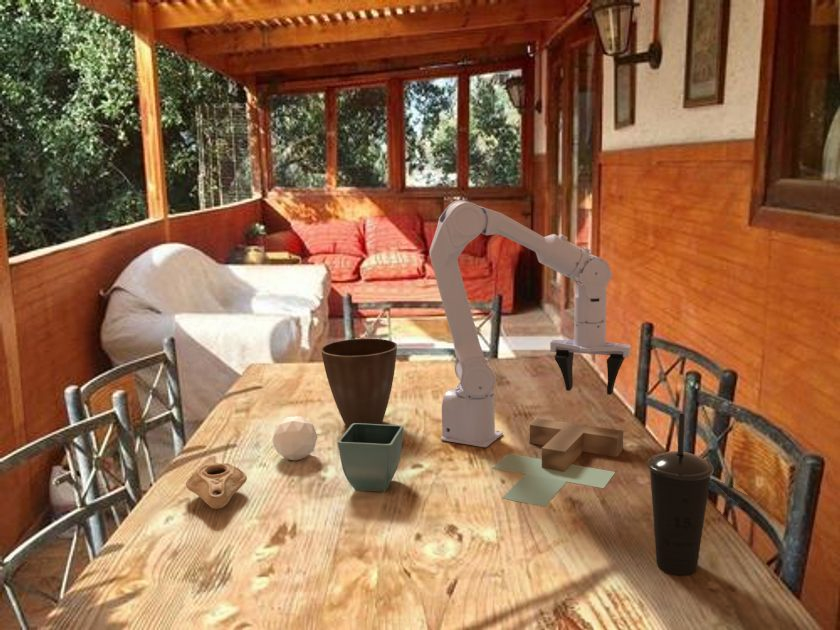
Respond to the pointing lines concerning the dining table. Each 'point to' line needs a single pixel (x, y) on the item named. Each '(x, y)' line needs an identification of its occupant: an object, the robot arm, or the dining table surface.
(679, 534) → the drinking cup
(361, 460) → the flower pot
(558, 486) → the t mat
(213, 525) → the dining table surface
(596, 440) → the t block
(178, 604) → the dining table surface
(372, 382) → the plant pot
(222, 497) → the pottery oil lamp
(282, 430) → the geometric ball
